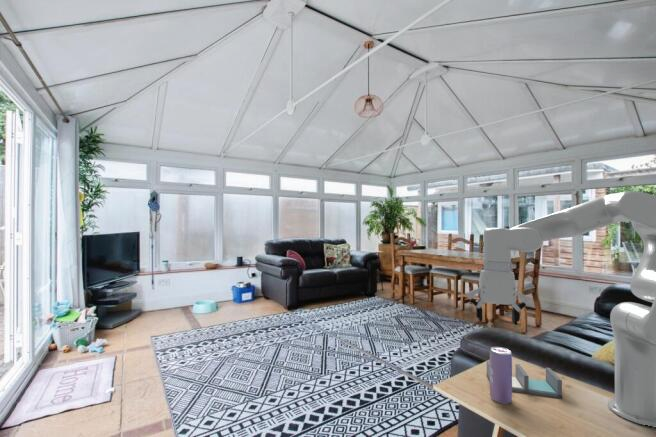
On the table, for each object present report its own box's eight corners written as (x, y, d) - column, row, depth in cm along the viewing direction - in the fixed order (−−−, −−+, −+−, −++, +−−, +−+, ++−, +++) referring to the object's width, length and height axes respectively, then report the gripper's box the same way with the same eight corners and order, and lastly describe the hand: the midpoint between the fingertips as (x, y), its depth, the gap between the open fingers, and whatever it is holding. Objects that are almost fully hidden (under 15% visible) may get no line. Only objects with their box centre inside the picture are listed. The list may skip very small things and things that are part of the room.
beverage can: (515, 405, 92) (515, 354, 92) (493, 403, 93) (493, 352, 94) (507, 395, 98) (507, 347, 98) (487, 393, 99) (487, 345, 100)
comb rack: (549, 384, 105) (549, 368, 106) (562, 398, 97) (561, 380, 97) (486, 375, 111) (486, 360, 111) (492, 388, 102) (492, 371, 102)
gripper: (524, 267, 98) (525, 321, 98) (465, 264, 103) (465, 315, 103) (532, 269, 91) (533, 328, 91) (468, 266, 96) (468, 322, 96)
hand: (497, 321), depth 97 cm, fingers open, 9 cm apart
